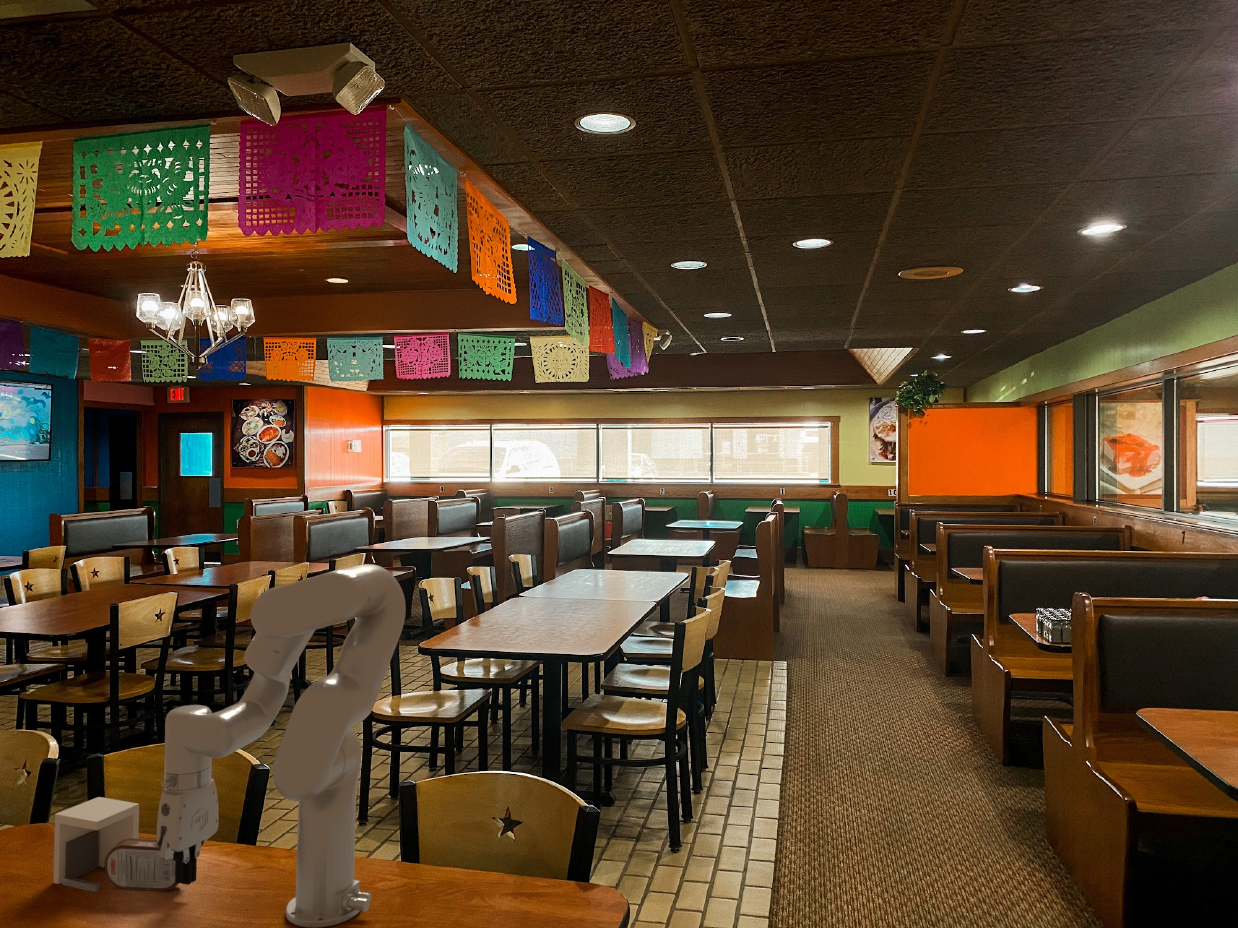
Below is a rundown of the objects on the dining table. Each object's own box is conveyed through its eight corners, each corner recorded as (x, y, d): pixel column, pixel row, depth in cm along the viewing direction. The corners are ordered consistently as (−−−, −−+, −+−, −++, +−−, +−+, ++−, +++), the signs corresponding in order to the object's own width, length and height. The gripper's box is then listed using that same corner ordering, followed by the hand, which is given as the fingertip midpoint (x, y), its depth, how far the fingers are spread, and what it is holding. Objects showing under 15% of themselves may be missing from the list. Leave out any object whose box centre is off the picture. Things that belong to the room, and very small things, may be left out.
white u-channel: (137, 870, 163) (139, 803, 163) (95, 891, 155) (96, 821, 155) (97, 861, 166) (98, 796, 167) (53, 882, 158) (55, 813, 158)
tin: (191, 885, 158) (192, 839, 158) (181, 894, 154) (182, 846, 154) (112, 881, 159) (113, 835, 159) (100, 889, 156) (101, 842, 156)
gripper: (170, 795, 146) (168, 904, 145) (235, 766, 160) (233, 866, 160) (136, 789, 148) (133, 897, 148) (203, 762, 162) (201, 860, 162)
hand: (185, 881), depth 154 cm, fingers closed
